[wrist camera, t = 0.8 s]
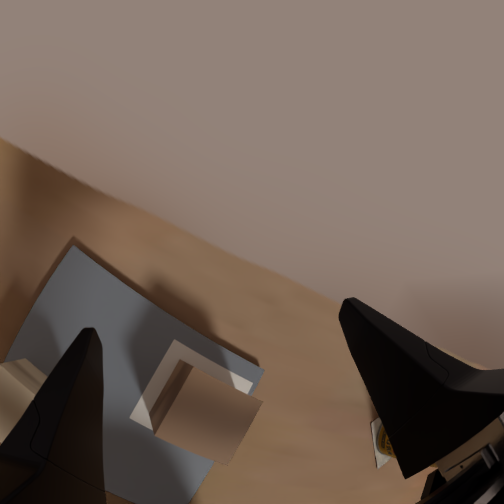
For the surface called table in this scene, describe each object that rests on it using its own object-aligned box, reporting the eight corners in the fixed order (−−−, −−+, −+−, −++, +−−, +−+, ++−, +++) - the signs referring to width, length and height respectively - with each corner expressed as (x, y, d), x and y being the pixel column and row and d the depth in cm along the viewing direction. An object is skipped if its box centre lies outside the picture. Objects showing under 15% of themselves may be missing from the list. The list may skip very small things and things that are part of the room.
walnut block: (206, 441, 19) (227, 465, 14) (148, 413, 18) (154, 435, 13) (235, 389, 21) (263, 401, 17) (179, 359, 20) (193, 366, 16)
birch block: (55, 445, 14) (39, 471, 10) (3, 406, 13) (-23, 421, 9) (78, 398, 16) (64, 416, 12) (25, 358, 15) (-1, 363, 11)
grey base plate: (176, 514, 16) (178, 518, 15) (-11, 405, 13) (-15, 407, 12) (260, 369, 23) (264, 370, 22) (75, 247, 20) (73, 244, 19)
